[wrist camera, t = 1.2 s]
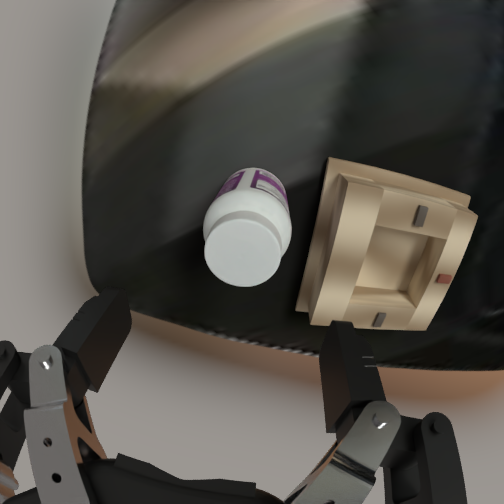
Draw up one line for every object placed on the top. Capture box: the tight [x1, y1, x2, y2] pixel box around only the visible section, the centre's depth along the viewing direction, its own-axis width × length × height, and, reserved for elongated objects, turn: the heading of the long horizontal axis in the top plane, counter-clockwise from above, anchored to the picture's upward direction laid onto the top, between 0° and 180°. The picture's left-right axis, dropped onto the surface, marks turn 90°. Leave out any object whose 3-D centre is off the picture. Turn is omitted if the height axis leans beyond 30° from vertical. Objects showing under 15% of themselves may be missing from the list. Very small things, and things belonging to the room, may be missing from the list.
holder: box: [296, 157, 478, 330], centre depth 22 cm, size 15×15×4 cm
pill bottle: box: [203, 168, 292, 287], centre depth 18 cm, size 5×5×10 cm
